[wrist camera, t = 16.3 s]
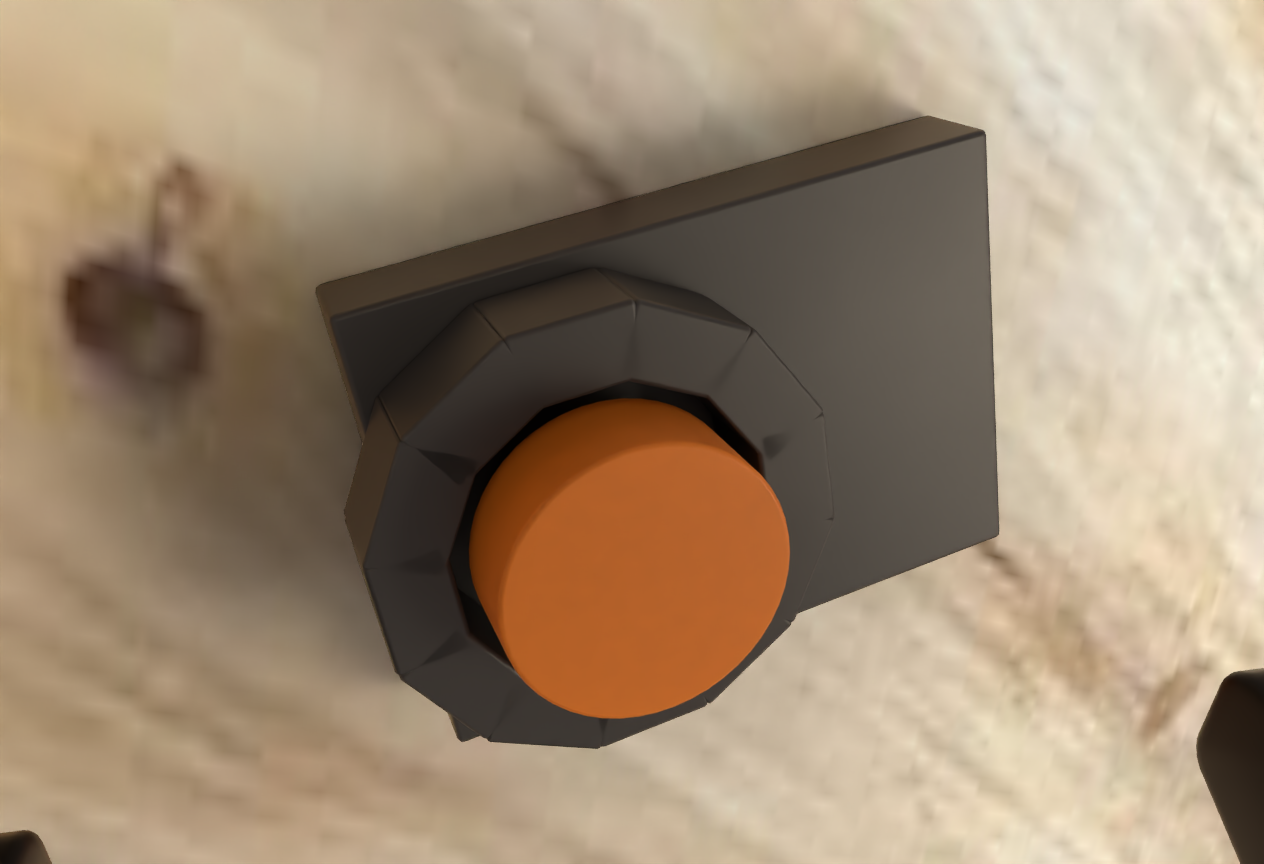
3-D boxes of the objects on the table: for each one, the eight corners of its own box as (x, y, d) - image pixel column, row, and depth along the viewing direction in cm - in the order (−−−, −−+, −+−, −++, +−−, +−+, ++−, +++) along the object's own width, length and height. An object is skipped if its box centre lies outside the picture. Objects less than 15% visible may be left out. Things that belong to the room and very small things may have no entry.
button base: (404, 702, 22) (447, 830, 19) (270, 296, 18) (297, 373, 15) (950, 499, 25) (1062, 581, 22) (929, 113, 21) (1060, 148, 18)
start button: (503, 695, 19) (535, 764, 17) (435, 450, 17) (464, 504, 15) (755, 599, 20) (806, 656, 18) (720, 359, 18) (773, 401, 16)
